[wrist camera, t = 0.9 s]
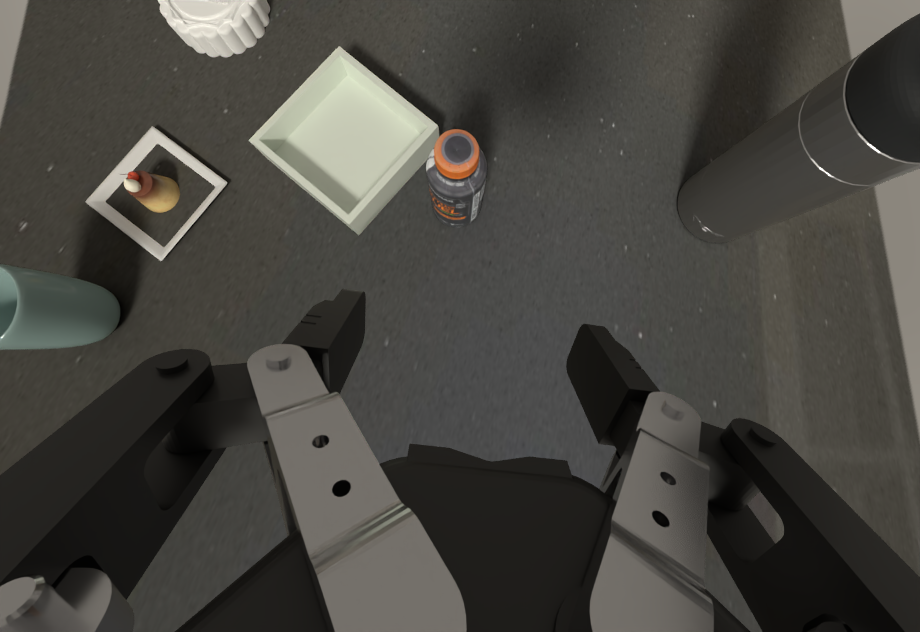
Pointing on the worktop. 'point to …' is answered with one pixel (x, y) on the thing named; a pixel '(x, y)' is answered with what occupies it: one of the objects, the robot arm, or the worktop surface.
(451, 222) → the pill bottle
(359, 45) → the worktop surface
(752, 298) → the worktop surface
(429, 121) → the tray
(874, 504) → the worktop surface
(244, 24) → the mooncake
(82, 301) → the cup
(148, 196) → the dessert
